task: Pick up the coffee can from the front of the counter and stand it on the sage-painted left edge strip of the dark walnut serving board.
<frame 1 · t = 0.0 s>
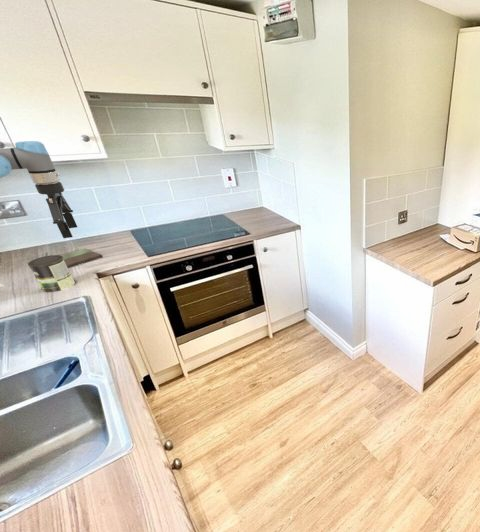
hand: (70, 232, 138), 23 cm above the worktop, tool pointing down, fingers open, 13 cm apart
coffee can: (61, 289, 140), on the worktop
serving board: (70, 261, 162), on the worktop
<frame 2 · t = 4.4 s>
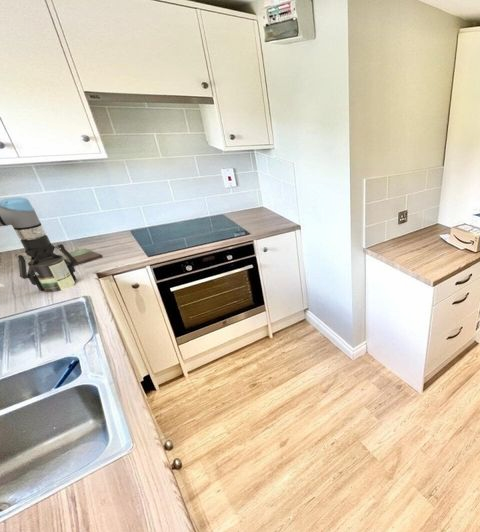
hand: (58, 284, 138), 2 cm above the worktop, tool pointing down, fingers closed on coffee can, 10 cm apart
coffee can: (61, 289, 140), on the worktop, touching gripper
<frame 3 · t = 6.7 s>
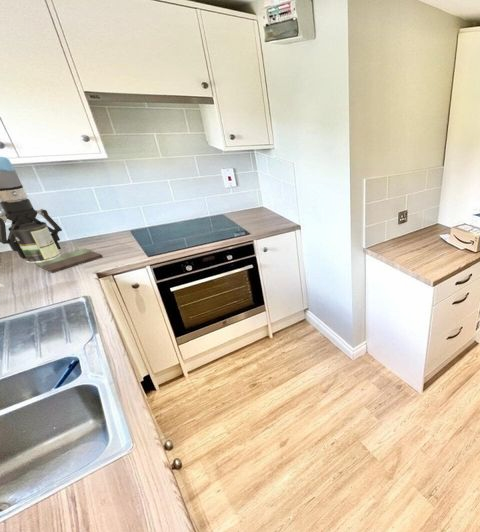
hand: (41, 252, 132), 17 cm above the worktop, tool pointing down, fingers closed on coffee can, 10 cm apart
coffee can: (44, 258, 133), point 15 cm above the worktop, touching gripper
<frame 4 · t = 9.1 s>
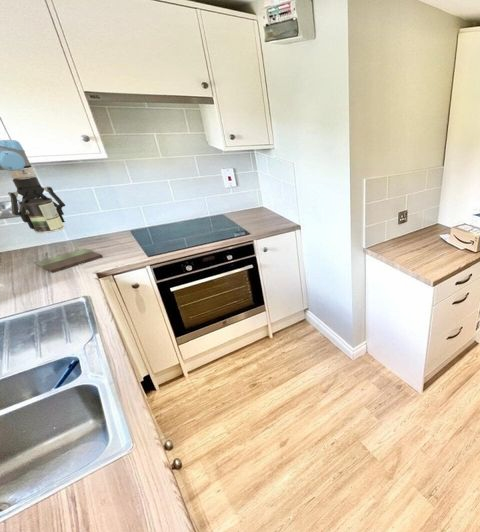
hand: (48, 225, 152), 20 cm above the worktop, tool pointing down, fingers closed on coffee can, 10 cm apart
coffee can: (50, 229, 153), point 18 cm above the worktop, touching gripper
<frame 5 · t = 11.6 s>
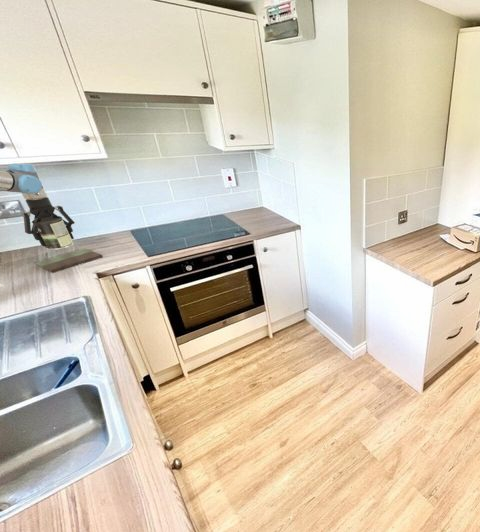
hand: (58, 241, 160), 10 cm above the worktop, tool pointing down, fingers closed on coffee can, 10 cm apart
coffee can: (60, 246, 161), point 7 cm above the worktop, touching gripper
when the fingers open (4 cm above the worktop, at t = 13.6 s): coffee can stays where it is, resting on serving board.
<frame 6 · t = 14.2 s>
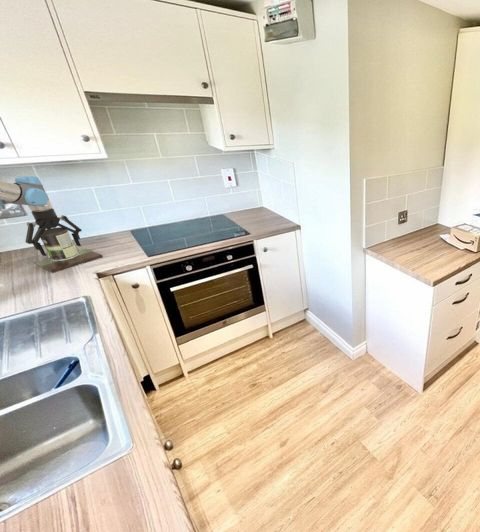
hand: (62, 250, 162), 5 cm above the worktop, tool pointing down, fingers open, 13 cm apart
coffee can: (65, 257, 163), point 1 cm above the worktop, touching serving board
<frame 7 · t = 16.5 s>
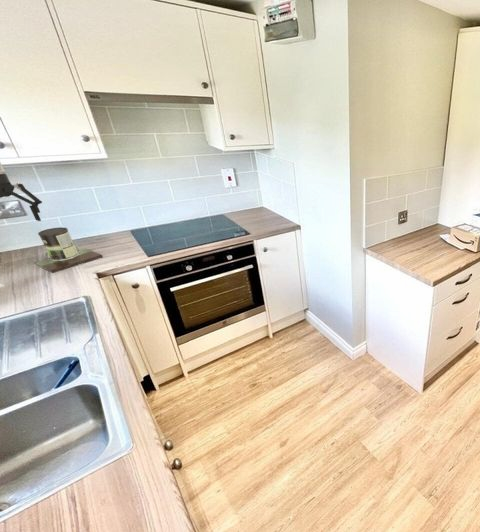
hand: (17, 224, 137), 25 cm above the worktop, tool pointing down, fingers open, 13 cm apart
nothing on the worktop moved.
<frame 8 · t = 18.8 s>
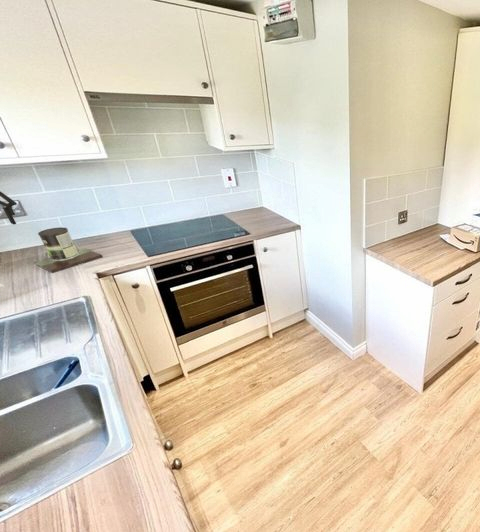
nothing on the worktop moved.
at the end: coffee can inside the target area on the serving board (0.0 cm from its centre), point 1.3 cm above the serving board's base; coffee can tilted 0°; the gripper is holding nothing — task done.
